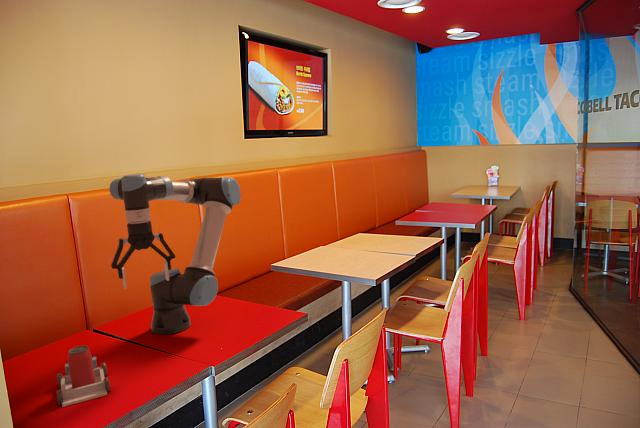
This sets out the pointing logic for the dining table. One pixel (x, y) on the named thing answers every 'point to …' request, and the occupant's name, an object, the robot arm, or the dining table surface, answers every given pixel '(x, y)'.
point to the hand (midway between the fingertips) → (146, 283)
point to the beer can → (80, 366)
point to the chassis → (85, 392)
